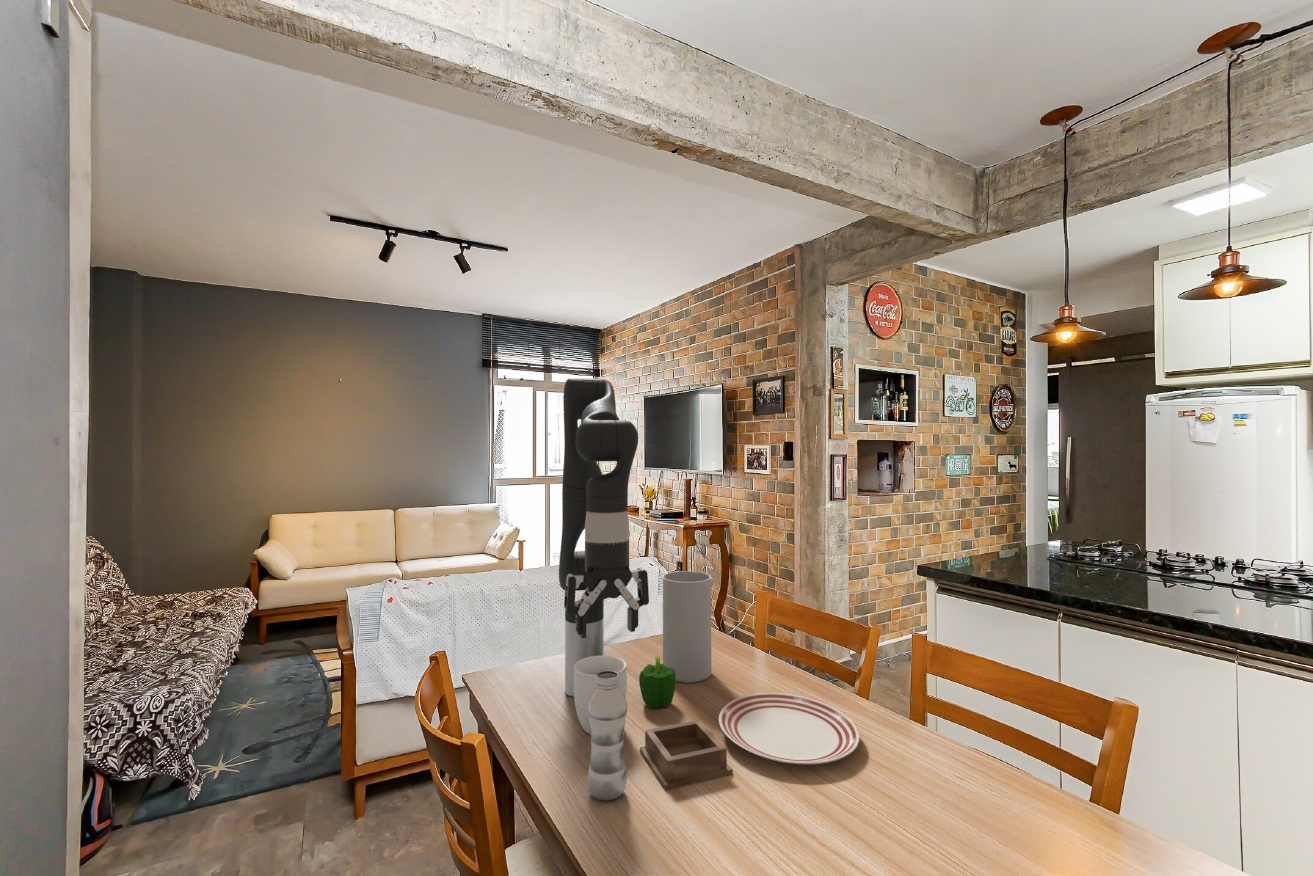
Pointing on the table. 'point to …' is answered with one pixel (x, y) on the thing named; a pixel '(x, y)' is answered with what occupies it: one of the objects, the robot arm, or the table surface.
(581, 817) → the table surface
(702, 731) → the bottle stand
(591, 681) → the mug
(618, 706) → the plastic bottle
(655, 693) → the bell pepper
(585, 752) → the table surface
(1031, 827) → the table surface
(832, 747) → the dinner plate
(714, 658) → the table surface
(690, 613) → the cylinder vase
